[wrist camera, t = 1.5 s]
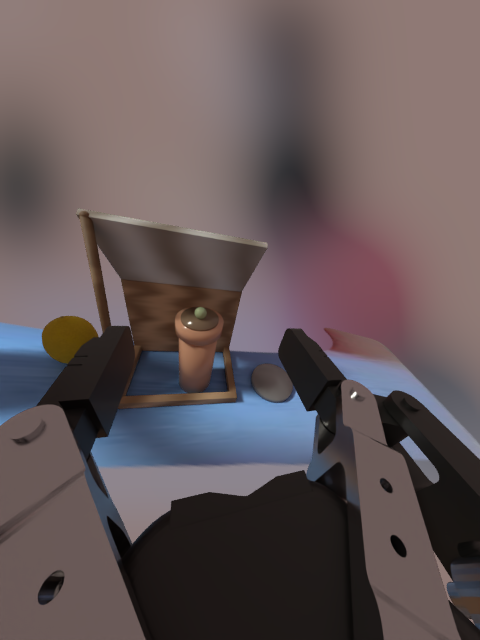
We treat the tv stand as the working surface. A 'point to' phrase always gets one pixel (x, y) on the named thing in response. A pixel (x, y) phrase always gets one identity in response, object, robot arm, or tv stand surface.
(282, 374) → the grey-brown flat disc
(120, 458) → the tv stand surface
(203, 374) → the pot
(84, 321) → the lemon
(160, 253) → the cold frame
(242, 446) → the tv stand surface
